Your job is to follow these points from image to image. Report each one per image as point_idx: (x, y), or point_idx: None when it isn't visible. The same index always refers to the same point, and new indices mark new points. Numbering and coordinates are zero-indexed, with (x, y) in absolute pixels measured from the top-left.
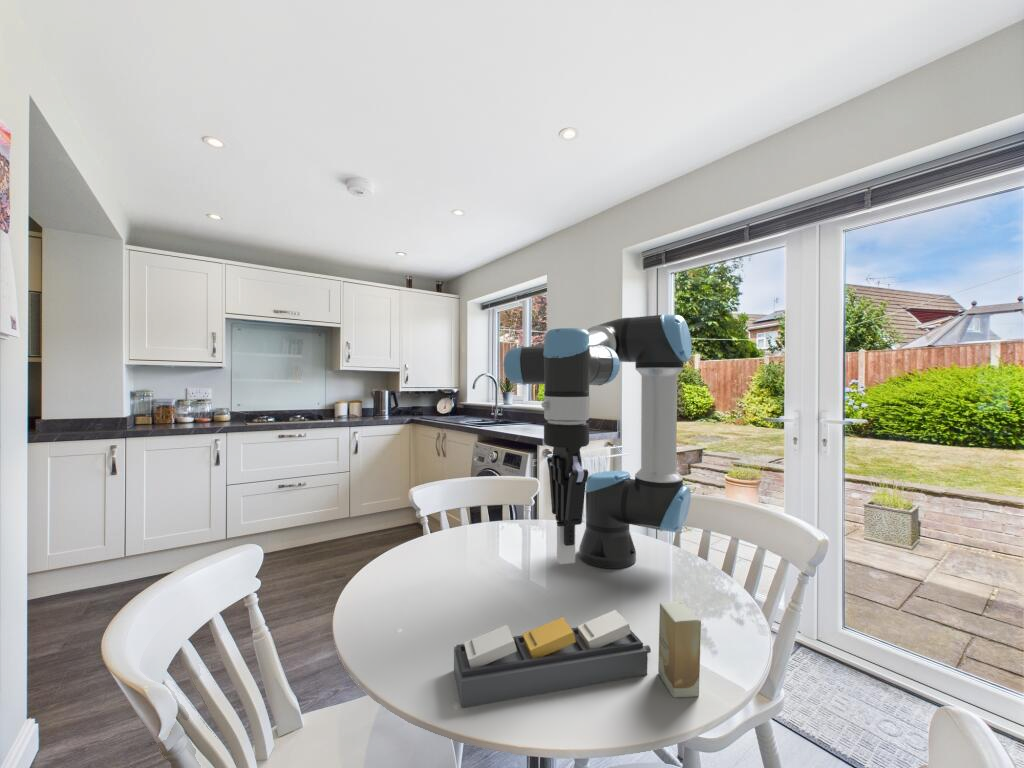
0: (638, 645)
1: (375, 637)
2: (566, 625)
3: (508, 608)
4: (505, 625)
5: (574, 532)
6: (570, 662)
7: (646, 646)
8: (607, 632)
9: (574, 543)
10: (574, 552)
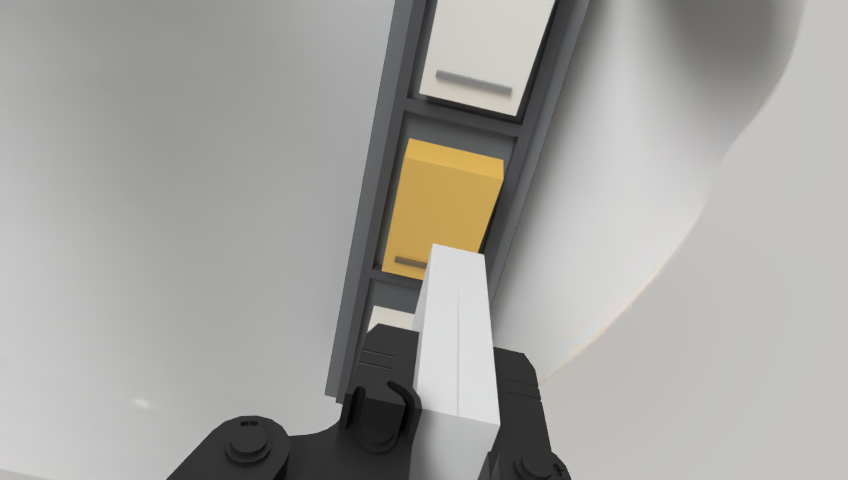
0: None
1: (158, 447)
2: (455, 175)
3: (92, 124)
4: (367, 332)
5: (492, 377)
6: (524, 186)
7: None
8: (537, 41)
9: (489, 324)
10: (484, 288)
